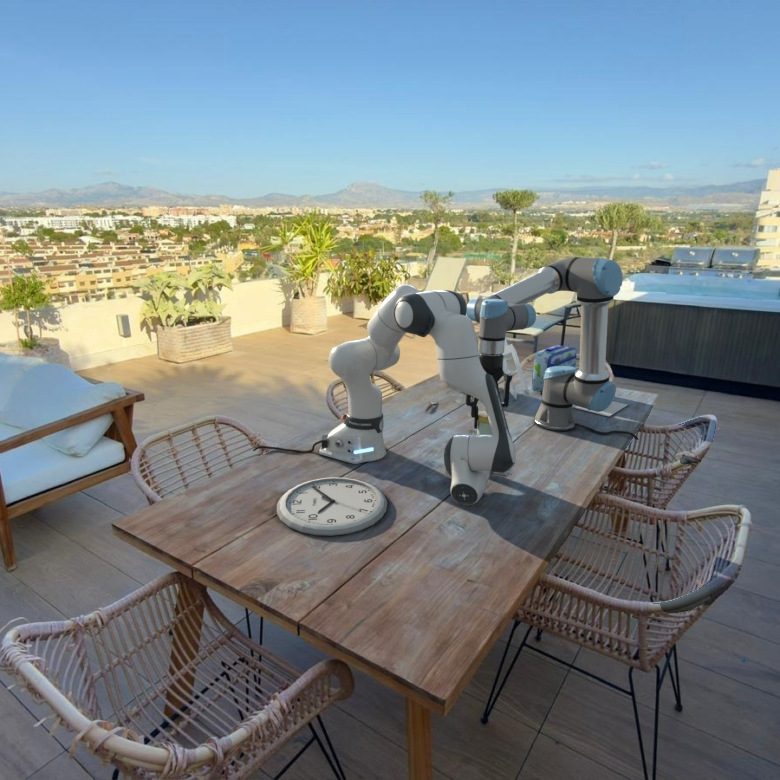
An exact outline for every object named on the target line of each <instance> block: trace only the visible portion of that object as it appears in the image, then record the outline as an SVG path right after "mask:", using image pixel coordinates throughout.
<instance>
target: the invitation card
mask: <svg viewBox="0 0 780 780" xmlns="http://www.w3.org/2000/svg"><path fill="white" fill-rule="evenodd" d="M628 406H629V404H627V403H623V402H618V401H614V400H613V401H612V402H611V404H610V405H609V406H608V407H607V408H606V409H605V410H604V411H601V412H596V411H592V410H588V409H586V408H582V407H579V406H576V405H575V406H574V407H573V409H575V410H581V411H584V412H587V413H593V414H596V415H600V416H604V417H608V418H609V417H611V416H613V415H614V414H616V413H617V412H619V411H621V410H623V409H624V408H626V407H628Z"/></svg>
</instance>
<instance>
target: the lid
mask: <svg viewBox="0 0 780 780" xmlns="http://www.w3.org/2000/svg"><path fill="white" fill-rule="evenodd" d="M478 421H480V422H484V423H489V419H488V415H487V412H486V410H481V411H478ZM478 421H477V422H478Z"/></svg>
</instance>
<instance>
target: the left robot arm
mask: <svg viewBox="0 0 780 780" xmlns="http://www.w3.org/2000/svg"><path fill="white" fill-rule="evenodd" d="M366 331H367V335H368V336H366V337H364V338H362V339H356V340H349V341H345V342H343V343H340V344H337V345H336V346H334V347H332V348H331V350H330V351H329V355H328V365H329V367H330V369H331V371H332V372H333V374H334V375H336V376H337V377H339V379H340V380H341V381H342V382H343V383H344V386H345V388H346V392H347V405H348V409H346V411H345V413H343V415H342V416H340V417H341V419H340V420H341V421H342V422H341V423H340V424H339V425H337V426H336V427H334V428H333V429H332V430H331V431H330V432H329V433H328V434H322V435H321V440H317V441H315V442H314V443H313V444H312V446H311V449H308V450H299V449H291V448H283V447H277V446H265V445H259V446H256V447H254V448H253V449H252V452H255V451H257V450H259V449H268V450H276V451H277V450H278V451H282V452H292V453H299V454H300V453H304V454H305V453H312V452H314V450H315V448H316V446H317V445H318V444H321V446H320V447H319V455H321V456H324V457H326V458H327V457H328V458H332V459H335V460H338V461H342V462H346V463H348V464H353V465H358V464H362V463H368V462H374V461H378V460H381V459H383V458H384V457H386V456H387V449H386V447H385V441H384V434H383V433H384V432H383V431H384V424H385V423H384V422H385V421H384V413H383V392H382V390H381V388H380V387H379V386H378V385H377V384H374V383H372V380H371V374H372V373H376V372H380V371H385V370H387V369H389V368H391V367H393V366H395V365H396V364H398V362H399V360H400V357H401V350H400V346H399V343H400V342H401V340H402V339H403V338H404V337H405V335H406V334H411V335H415V336H418V337H420V338H426V337H427V336H430V337H432V339H433V340H434V344H435V350H436V352H435V353H436V363H437V371H438V375H439V378H440V380H441V379H442V380H441V381H442V383H443V384H444V383H445V384H446V385H445V384H444V385H445V386H447V387H448V388H450V389H452V390H453V391H456V392H459V393H462V394H465V395H466V394H468V395H471V397H473V398H474V397H475V398H477V399H479V400H478V401H479V402H481V403H482V404H483V406H484V408H485V411H486V412H487V415H488V419H489V423H490V427H491V431H492V434H490V435H477V434H454V435H453V436H451V438H450V439H449V440H448V441H447V443H446V444H445V447H444V451H443V461H444V467H445V475H446V476H447V477H449V478H451V483H450V490H449V491H450V496H451V498H452V499H453V500H454V501H455V502H456V503H457V504H459V505H461V506H473V505H475V504H476V503H478V502H479V500H481V498H482V496H483V494H484V492H485V490H486V488H487V484H488V482H489V479H490V477H491V476H494V477H500V478H508V477H510V476H513V474H514V468H515V464H516V459H517V452H516V446H515V444H514V442H513V439H512V436H511V433H510V429H509V426H508V422H507V418H506V414H505V411H504V408H503V406H502V402H503V401H502V399H500V398H501V394H500V395H499V393H500V391H499V392H498V389H497V385H496V383H495V380H494V378H493V377H492V375H490V374H488V373H486V372H485V370H484V369H483V367H482V365H481V362H480V359H479V350H478V343H479V342H478V340H477V339H478V337H477V334H476V329H475V326H474V323H473V321H472V320H471V319H470V318H469V317H467V303H466V300H465V298H464V296H463V295H462V294H460V293H459V292H457V291H454V290H449V289H446V290H434V289H433V290H426V291H420V290H419V289H418V288H416V287H415V286H413V285H411V284H400V285H398V286H397V287H395V288H394V289H393V290H392V291H391V292H389V294H388V295H387V296H386V297H385V298H384V299H383V300H382V301H381V303H380V305H379V306H378V307H377V309H376V310H375V311H374V313H373V314H372V316H371V317H370V319H369V320H368V322H367V325H366Z"/></svg>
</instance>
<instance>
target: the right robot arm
mask: <svg viewBox="0 0 780 780" xmlns="http://www.w3.org/2000/svg"><path fill="white" fill-rule="evenodd" d="M622 286H623V271H622V268H621V266H620V265H619V263H618V262H617V261H616V260H613V259H607V258H603V257H581V256H580V257H579V256H571V257H566V258H563V259H560V260H557V261H554V262H551V263H549V264H546V265H545V266H543V267H541V268H540V269H538V271H537V273H535V274H533V275H530V276H529V277H527V278H524V279H523V280H520V281H519V282H518V281H517V282H516V283H515V284H512V285H510V286H508V287H505V288H504V289H502V290H500V291H498V292H496V293H494V294H491V295H489V296H487V297H484V298H482V297H473V298H471V299H470V300H469V301H468V302H467V303H466V306H467V313H466V316H467V317H469V318H470V319H471V321H472V322H476V323H477V324H479V328H478V329H479V331H478V342H477V343H478V350H479V352H480V353H479V359H480V362H481V365H482V367H483V369H484V370H485V372H486V373H488V374H490V375H492V377H493V378H494V380H495V383H496V385H497V389H498V392H499V395H500V396H501V394H500V387H499V383H498V382H499V381H500V380H501V379H502V378H503V380H504V383H503V385H504V387H503V399H501V398H502V397H500V399H501V400H503V401H501V402H502V406H503V409H504V408H508V407H509V404H510V382H511V380H512V381H513V375H512V373H511V372H510V373H508V374H507V373H505V372H504V370H503V358H504V356H503V353H504V345H505V337H506V332H513V331H523V330H526V329H529V328H531V327H532V326H534V324H535V323H536V320H537V312H536V309H535V308H534V306H533V305H531V304H530V303H531V302H532V301H534V300H536V299H539V298H541V297H542V296H544V295H547V294H548V295H549V294H550V295H553V294H555V293H557V292H571V293H576V301H577V302H578V303H579V304H580V305H581V306H580V333H579V335H580V336H579V368H577V367H576V366H575V367H571V366H555V367H549V368H547V369H546V371H545V375H544V378H543V379H544V381H543V391H542V394H541V402H540V405H539V407H538V410H537V411H536V413H535V417H534V424H535V425H536V426H537V427H539V428H542V429H544V430H549V431H556V432H567V431H572V430H574V429H575V428H576V426H577V427H579V428H582V429H584V430H588V431H591V432H593V433H595V434H598V435H602V436H603V435H611V434H625V435H629V436H631V437H633V438H634V439H635V440H639V438H638V436H637V435H636V434H634V433H633V432H631V431H626V430H609V431H599V430H596V429H595V428H591V427H589V426H586V425H584V424H580V423H577V422H576V418H575V417H576V416H575V413H574V407H573V406H575V407H576V406H579V407H582V408H586V409H588V410H592V411H596V412H601V411H604V410H605V409H606V408H607V407H608V406H609V405H610V404H611V402H612V401H614V398H615V396H616V392H617V386H616V384H615V383H614V382H613V381H610V372H609V371H608V370H607V369H606V362H607V361H606V359H607V358H606V357H607V338H608V322H609V321H608V318H609V316H608V315H609V304H610V303H612V302H613V300H614V297H615V296H617V295H618V294H619V293H620V291H621V287H622ZM479 401H480V400H479V399H477V398H475V397H473V398H472V396H471V395H468V394H465V404H466V406H467V407H470V417H471V418H472V419H473V429H474V430H477V427H478V412H479V406H478V403H479Z"/></svg>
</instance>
